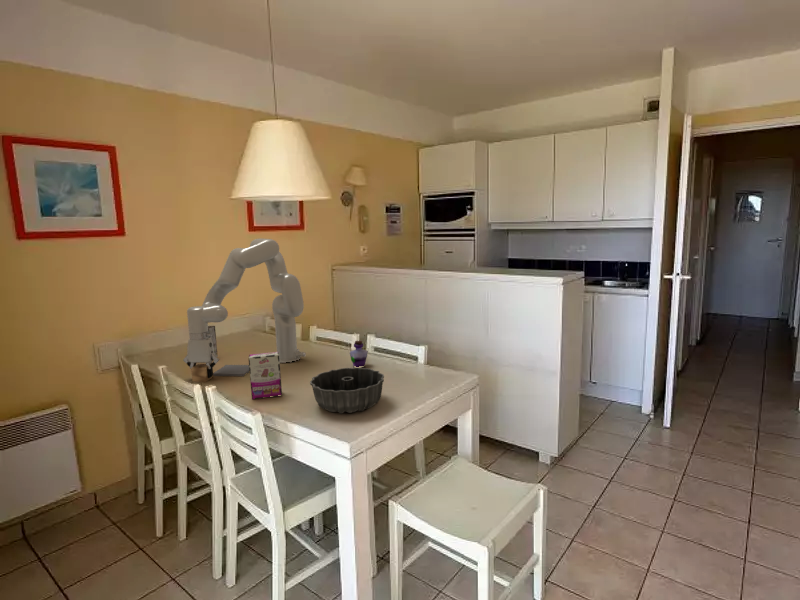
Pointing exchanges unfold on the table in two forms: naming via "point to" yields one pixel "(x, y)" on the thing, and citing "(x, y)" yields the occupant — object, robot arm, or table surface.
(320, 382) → the bundt pan
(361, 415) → the table surface
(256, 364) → the candy bar box
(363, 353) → the potion bottle
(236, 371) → the charcoal mat
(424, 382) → the table surface
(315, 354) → the table surface
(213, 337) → the coffee box
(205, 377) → the oak cube
